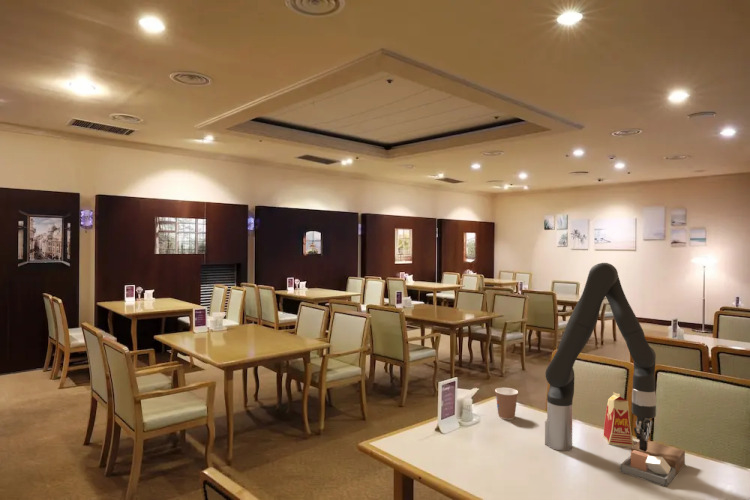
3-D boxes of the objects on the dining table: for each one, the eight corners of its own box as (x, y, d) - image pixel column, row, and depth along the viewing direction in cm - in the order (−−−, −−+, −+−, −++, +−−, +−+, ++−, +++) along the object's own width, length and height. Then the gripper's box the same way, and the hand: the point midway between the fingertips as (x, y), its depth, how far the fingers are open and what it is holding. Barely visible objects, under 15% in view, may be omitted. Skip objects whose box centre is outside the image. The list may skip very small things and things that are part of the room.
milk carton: (634, 446, 183) (634, 396, 182) (608, 444, 184) (609, 394, 184) (626, 437, 192) (626, 389, 191) (602, 435, 193) (602, 387, 193)
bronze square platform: (631, 461, 170) (631, 448, 170) (641, 451, 178) (642, 438, 178) (675, 475, 160) (675, 461, 160) (684, 464, 168) (684, 450, 168)
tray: (620, 471, 162) (620, 464, 162) (631, 461, 170) (631, 455, 170) (666, 486, 152) (666, 479, 152) (675, 475, 160) (675, 468, 160)
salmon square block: (633, 463, 167) (630, 466, 165) (634, 449, 167) (630, 452, 165) (649, 468, 163) (646, 471, 161) (649, 454, 163) (646, 457, 161)
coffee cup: (499, 411, 221) (499, 386, 221) (521, 415, 216) (521, 390, 215) (491, 417, 213) (491, 391, 213) (513, 422, 207) (513, 395, 207)
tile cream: (656, 465, 162) (654, 473, 160) (648, 455, 161) (645, 462, 160) (670, 467, 157) (668, 474, 156) (662, 456, 157) (659, 464, 155)
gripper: (638, 395, 174) (638, 441, 174) (626, 403, 165) (625, 452, 165) (661, 400, 168) (660, 447, 169) (649, 408, 159) (649, 459, 159)
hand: (643, 450), depth 167 cm, fingers closed
